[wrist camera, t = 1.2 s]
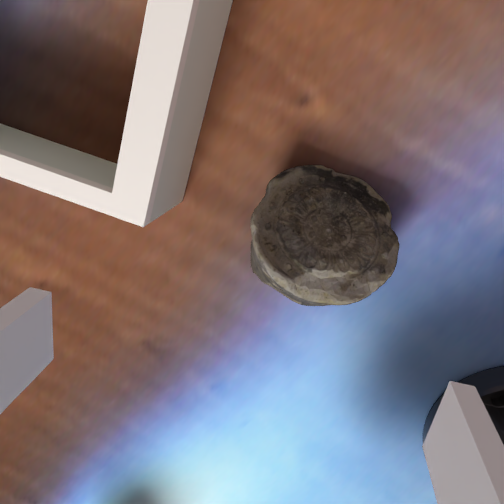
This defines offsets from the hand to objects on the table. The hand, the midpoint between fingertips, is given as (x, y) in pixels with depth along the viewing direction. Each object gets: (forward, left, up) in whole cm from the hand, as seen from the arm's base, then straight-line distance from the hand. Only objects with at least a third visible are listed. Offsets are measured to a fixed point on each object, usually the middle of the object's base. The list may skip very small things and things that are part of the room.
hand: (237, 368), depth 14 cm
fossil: (-3, 0, -22) cm, 22 cm away
